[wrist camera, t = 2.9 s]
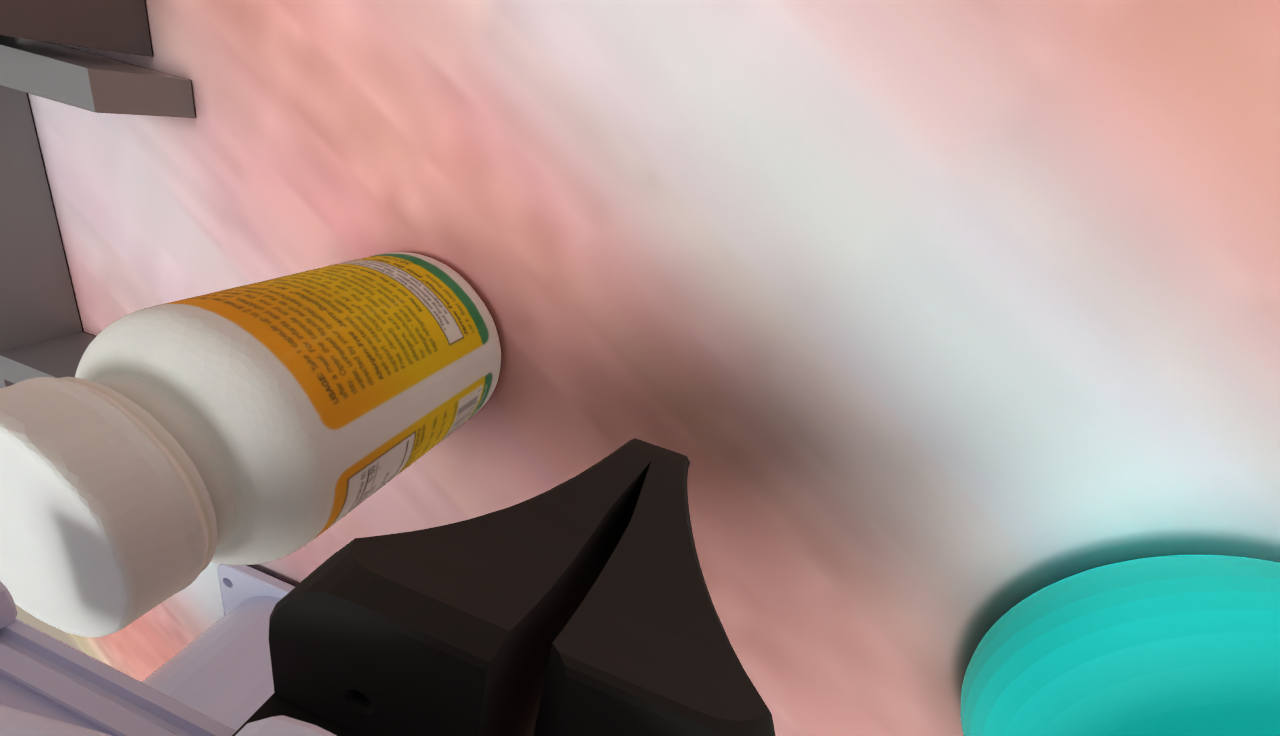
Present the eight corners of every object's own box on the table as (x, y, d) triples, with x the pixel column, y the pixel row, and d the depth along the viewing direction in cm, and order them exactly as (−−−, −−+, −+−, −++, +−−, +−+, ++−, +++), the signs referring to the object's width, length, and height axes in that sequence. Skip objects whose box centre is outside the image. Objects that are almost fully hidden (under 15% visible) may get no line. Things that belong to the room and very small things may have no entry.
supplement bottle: (513, 428, 17) (209, 716, 8) (368, 405, 18) (-24, 632, 10) (500, 253, 15) (80, 393, 6) (337, 241, 16) (-194, 343, 8)
